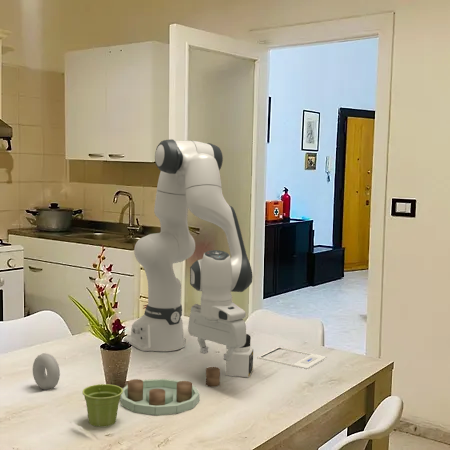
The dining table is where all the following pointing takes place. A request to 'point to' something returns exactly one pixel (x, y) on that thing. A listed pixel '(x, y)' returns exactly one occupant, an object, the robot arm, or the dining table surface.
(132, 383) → the seated bead
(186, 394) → the loose bead
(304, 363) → the photo frame
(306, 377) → the dining table surface
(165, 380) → the tray
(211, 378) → the wooden cylinder
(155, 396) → the seated bead
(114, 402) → the plant pot
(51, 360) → the donut
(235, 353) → the medicine bottle
